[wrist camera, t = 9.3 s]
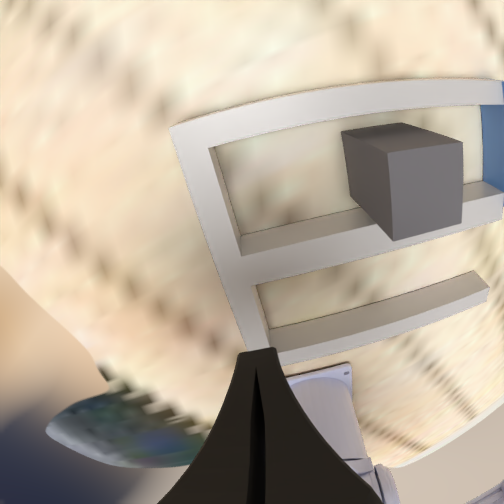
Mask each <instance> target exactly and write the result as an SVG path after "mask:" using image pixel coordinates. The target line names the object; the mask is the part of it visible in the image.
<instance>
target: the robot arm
mask: <svg viewBox="0 0 504 504" xmlns="http://www.w3.org/2000/svg"><path fill="white" fill-rule="evenodd" d="M374 471H375V472H374ZM157 504H400V500H399V496H398V492H397V488H396V485H395V482H394V479H393V476H392V474H391V471H390V469H389V468H387V467H385V466H383V465H382V464H378V465H375V466H374V469H373V465H372V461H371V458H370V457H368V456H367V452H366V448H365V445H364V441H363V438H362V434H361V431H360V427H359V424H358V420H357V417H356V413H355V410H354V407H353V403H352V367H351V364H348V363H346V364H342V365H338V366H334V367H331V368H327V369H323V370H319V371H314V372H310V373H306V374H302V375H297V376H293V377H288V378H285V375H284V373H283V371H282V368H281V364H280V360H279V357H278V353H277V349H276V348H274V347H269V348H263V349H258V350H253V351H247V352H242V353H239V355H238V357H237V362H236V366H235V370H234V373H233V377H232V380H231V383H230V386H229V389H228V392H227V394H226V397H225V400H224V403H223V405H222V407H221V410H220V412H219V414H218V416H217V419H216V421H215V423H214V425H213V427H212V429H211V431H210V433H209V435H208V437H207V439H206V440H205V442H204V444H203V446H202V447H201V449H200V451H199V452H198V454H197V455H196V457H195V458H194V460H193V461H192V463H191V464H190V466H189V467H188V469H187V470H186V471H185V472H184V474H183V475H182V476H181V478H180V479H179V480H178V481H177V483H176V484H175V485H174V486H173V487H172V489H171V490H170V491H169V492H168V493H167V494H166V495H165V496H164V497H163V498H162V499H161V500H160V501H159V502H158V503H157ZM465 504H504V480H503V481H502V482H501V483H500V484H498V485H496V486H495V487H493V488H491V489H490V490H488V491H486V492H485V493H483V494H481V495H480V496H478V497H476V498H474V499H472V500H471V501H469V502H467V503H465Z"/></svg>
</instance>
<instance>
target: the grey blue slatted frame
mask: <svg viewBox="0 0 504 504" xmlns="http://www.w3.org/2000/svg"><path fill="white" fill-rule="evenodd" d="M457 105H481V116H482V131H483V181H479V182H474V183H470V184H465V185H463V207H462V223H461V224H457V225H454V226H450V227H446V228H443V229H439V230H435V231H432V232H428V233H424V234H420V235H417V236H413V237H409V238H405V239H402V240H398V241H394V242H393V241H392V240H391V239H390V238H389V237H388V236H387V234H386V233H385V232H384V231H383V230H382V229H381V228H380V227H379V226H378V225H377V223H376V222H375V221H374V220H373V219H372V218H371V217H370V216H369V215H368V214H367V213H366V212H365V211H364V210H363V209H362V207H360V208H356V209H351V210H347V211H343V212H338V213H334V214H330V215H325V216H321V217H317V218H313V219H308V220H304V221H300V222H296V223H292V224H287V225H283V226H279V227H275V228H271V229H267V230H263V231H259V232H254V233H250V234H246V235H242V236H241V235H240V232H239V229H238V225H237V222H236V219H235V215H234V212H233V208H232V205H231V202H230V198H229V195H228V192H227V188H226V185H225V182H224V178H223V175H222V172H221V168H220V165H219V161H218V158H217V155H216V151H215V148H214V146H218V145H221V144H225V143H229V142H232V141H236V140H240V139H244V138H248V137H252V136H256V135H260V134H264V133H269V132H273V131H277V130H282V129H286V128H291V127H296V126H301V125H306V124H311V123H316V122H322V121H327V120H333V119H339V118H345V117H351V116H358V115H364V114H371V113H379V112H387V111H395V110H405V109H415V108H426V107H440V106H457ZM169 131H170V134H171V137H172V141H173V144H174V147H175V150H176V153H177V156H178V159H179V162H180V165H181V168H182V171H183V174H184V177H185V180H186V183H187V186H188V189H189V192H190V195H191V198H192V201H193V204H194V207H195V210H196V213H197V215H198V218H199V221H200V224H201V227H202V230H203V233H204V235H205V238H206V241H207V244H208V247H209V249H210V252H211V255H212V258H213V260H214V263H215V266H216V269H217V271H218V274H219V277H220V280H221V282H222V285H223V288H224V290H225V293H226V296H227V298H228V301H229V304H230V306H231V309H232V311H233V314H234V317H235V319H236V322H237V325H238V327H239V330H240V332H241V335H242V337H243V340H244V342H245V345H246V348H247V350H248V351H253V350H258V349H263V348H269V347H274V348H276V349H277V353H278V357H279V360H280V364H281V366H285V365H289V364H294V363H298V362H303V361H307V360H311V359H315V358H319V357H323V356H327V355H331V354H335V353H339V352H343V351H346V350H350V349H353V348H357V347H360V346H364V345H367V344H371V343H374V342H377V341H381V340H384V339H387V338H390V337H393V336H396V335H399V334H402V333H405V332H408V331H411V330H414V329H417V328H420V327H423V326H425V325H428V324H431V323H434V322H436V321H439V320H442V319H444V318H447V317H450V316H452V315H455V314H457V313H460V312H462V311H465V310H467V309H469V308H472V307H474V306H477V305H479V304H481V303H484V302H486V300H487V296H488V292H489V288H490V287H489V286H488V285H487V284H486V283H485V282H484V281H483V279H482V278H481V277H480V276H479V275H478V274H477V273H476V272H475V271H471V272H469V273H466V274H463V275H460V276H457V277H455V278H452V279H449V280H446V281H443V282H440V283H437V284H434V285H431V286H428V287H425V288H422V289H419V290H416V291H413V292H410V293H406V294H403V295H400V296H397V297H393V298H390V299H387V300H383V301H380V302H377V303H373V304H370V305H366V306H363V307H359V308H355V309H352V310H348V311H344V312H341V313H337V314H333V315H329V316H325V317H321V318H317V319H313V320H309V321H305V322H301V323H297V324H292V325H288V326H284V327H279V328H275V329H270V330H269V328H268V324H267V321H266V318H265V315H264V311H263V308H262V305H261V301H260V298H259V295H258V292H257V288H256V285H258V284H262V283H266V282H270V281H275V280H279V279H283V278H287V277H292V276H296V275H300V274H304V273H308V272H312V271H316V270H320V269H324V268H328V267H332V266H336V265H340V264H344V263H348V262H352V261H356V260H360V259H363V258H367V257H371V256H375V255H379V254H382V253H386V252H390V251H394V250H397V249H401V248H405V247H408V246H412V245H415V244H419V243H423V242H426V241H430V240H433V239H437V238H440V237H444V236H447V235H451V234H454V233H458V232H461V231H465V230H468V229H471V228H475V227H478V226H481V225H485V224H488V223H491V222H495V221H498V220H501V219H502V213H503V206H504V81H500V80H493V79H476V78H419V79H399V80H385V81H374V82H364V83H355V84H347V85H340V86H333V87H326V88H320V89H313V90H308V91H302V92H297V93H291V94H286V95H281V96H276V97H272V98H267V99H263V100H258V101H254V102H250V103H246V104H242V105H238V106H234V107H230V108H226V109H223V110H219V111H215V112H212V113H208V114H205V115H202V116H198V117H195V118H192V119H188V120H185V121H182V122H179V123H177V124H175V125H173V126H171V127H169Z"/></svg>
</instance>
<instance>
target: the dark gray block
mask: <svg viewBox="0 0 504 504" xmlns="http://www.w3.org/2000/svg"><path fill="white" fill-rule="evenodd" d="M341 136H342V141H343V147H344V154H345V160H346V166H347V173H348V180H349V188H350V196H351V197H352V198H353V199H354V200H355V201H356V202H357V203H358V204H359V205H360V206H361V207H362V209H363V210H364V211H365V212H366V213H367V214H368V215H369V216H370V217H371V218H372V219H373V220H374V221H375V222H376V223H377V225H378V226H379V227H380V228H381V229H382V230H383V231H384V232H385V233H386V234H387V236H388V237H389V238H390V239H391V240H392V241H393V242H394V241H398V240H402V239H405V238H409V237H413V236H417V235H420V234H424V233H428V232H432V231H435V230H439V229H443V228H446V227H450V226H454V225H457V224H461V223H462V207H463V142H461V141H458V140H455V139H452V138H449V137H447V136H444V135H441V134H438V133H435V132H431V131H428V130H425V129H422V128H418V127H415V126H412V125H408V124H405V123H394V124H387V125H380V126H373V127H366V128H360V129H353V130H347V131H342V132H341Z"/></svg>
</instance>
